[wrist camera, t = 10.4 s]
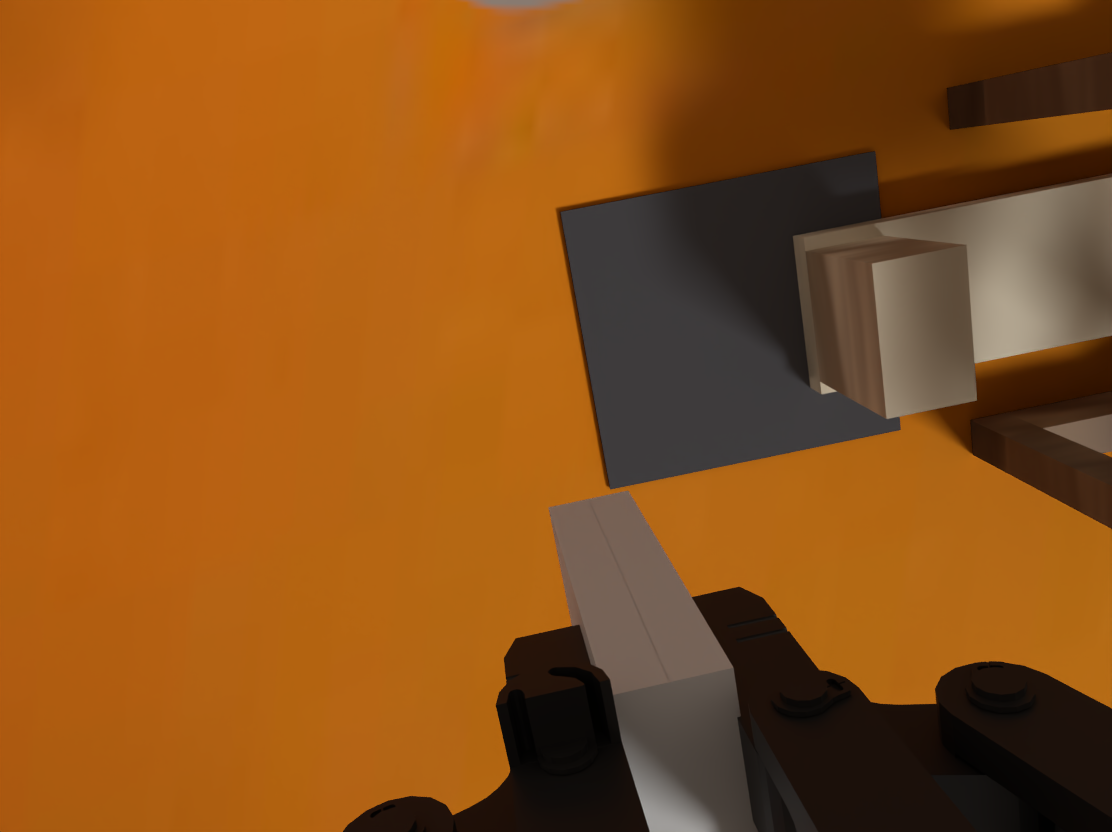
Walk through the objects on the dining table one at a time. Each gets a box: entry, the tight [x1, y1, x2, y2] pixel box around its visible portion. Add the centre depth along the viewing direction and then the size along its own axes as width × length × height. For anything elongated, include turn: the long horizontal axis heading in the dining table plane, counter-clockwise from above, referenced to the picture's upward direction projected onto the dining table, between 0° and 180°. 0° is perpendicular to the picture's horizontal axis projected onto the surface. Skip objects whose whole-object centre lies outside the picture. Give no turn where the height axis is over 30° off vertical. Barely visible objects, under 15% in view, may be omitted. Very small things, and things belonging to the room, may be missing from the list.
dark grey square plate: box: [560, 151, 901, 489], centre depth 35 cm, size 12×11×1 cm
